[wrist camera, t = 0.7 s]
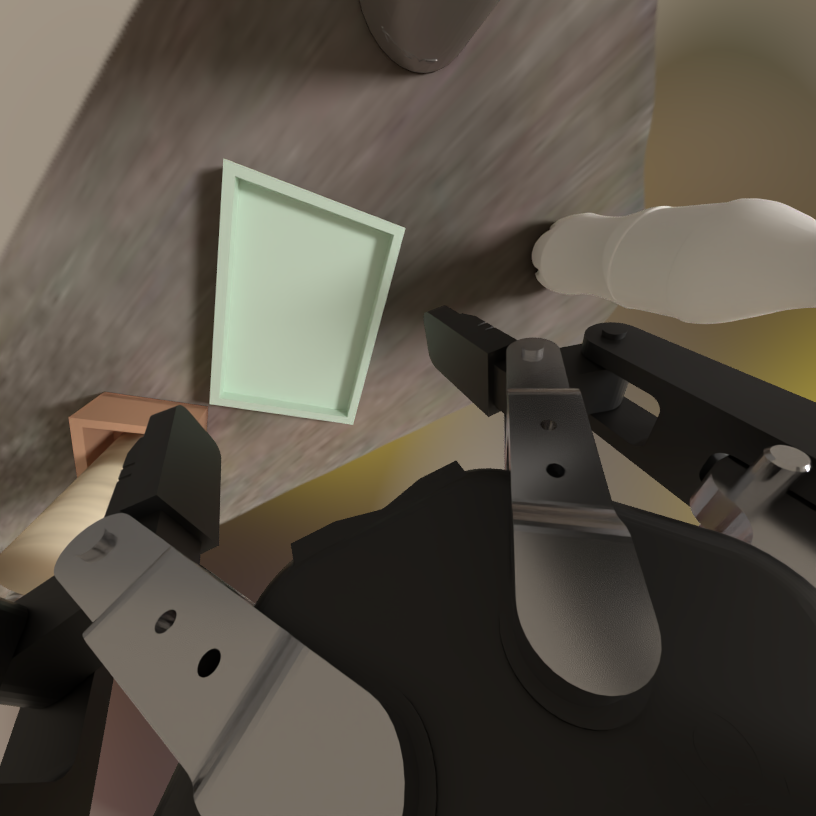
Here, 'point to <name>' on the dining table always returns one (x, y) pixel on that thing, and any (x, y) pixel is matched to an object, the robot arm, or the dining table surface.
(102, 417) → the terracotta holder
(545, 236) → the water bottle
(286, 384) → the pale green tray
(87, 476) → the birch pin
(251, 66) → the dining table surface
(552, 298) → the dining table surface
